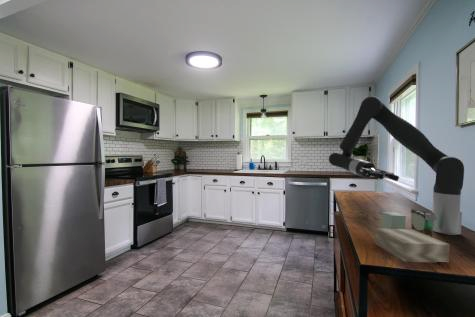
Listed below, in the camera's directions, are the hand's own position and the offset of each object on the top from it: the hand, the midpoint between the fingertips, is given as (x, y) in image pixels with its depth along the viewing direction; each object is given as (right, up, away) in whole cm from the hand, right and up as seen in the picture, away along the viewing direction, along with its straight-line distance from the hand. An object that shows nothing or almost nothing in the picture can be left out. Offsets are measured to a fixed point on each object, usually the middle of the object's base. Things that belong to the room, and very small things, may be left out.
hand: (390, 177), depth 104 cm
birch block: (-7, -24, -21) cm, 32 cm away
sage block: (-2, -23, -5) cm, 24 cm away
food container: (+13, -24, -2) cm, 28 cm away
